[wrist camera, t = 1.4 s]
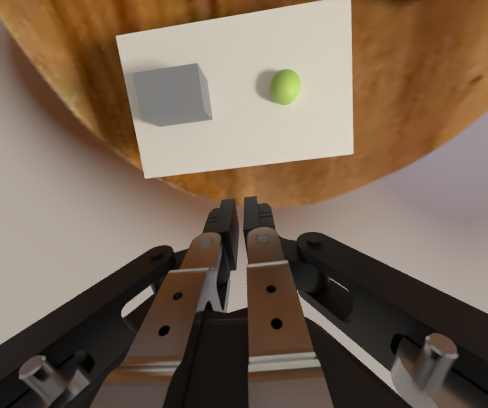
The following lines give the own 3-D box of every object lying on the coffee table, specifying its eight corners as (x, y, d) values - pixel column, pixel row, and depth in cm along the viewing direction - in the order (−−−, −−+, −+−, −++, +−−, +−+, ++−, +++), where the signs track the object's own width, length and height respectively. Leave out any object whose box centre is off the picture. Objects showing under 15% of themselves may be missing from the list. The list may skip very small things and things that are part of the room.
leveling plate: (130, 48, 24) (85, 8, 18) (340, 14, 23) (374, -45, 16) (155, 177, 27) (124, 181, 21) (343, 154, 26) (373, 152, 19)
